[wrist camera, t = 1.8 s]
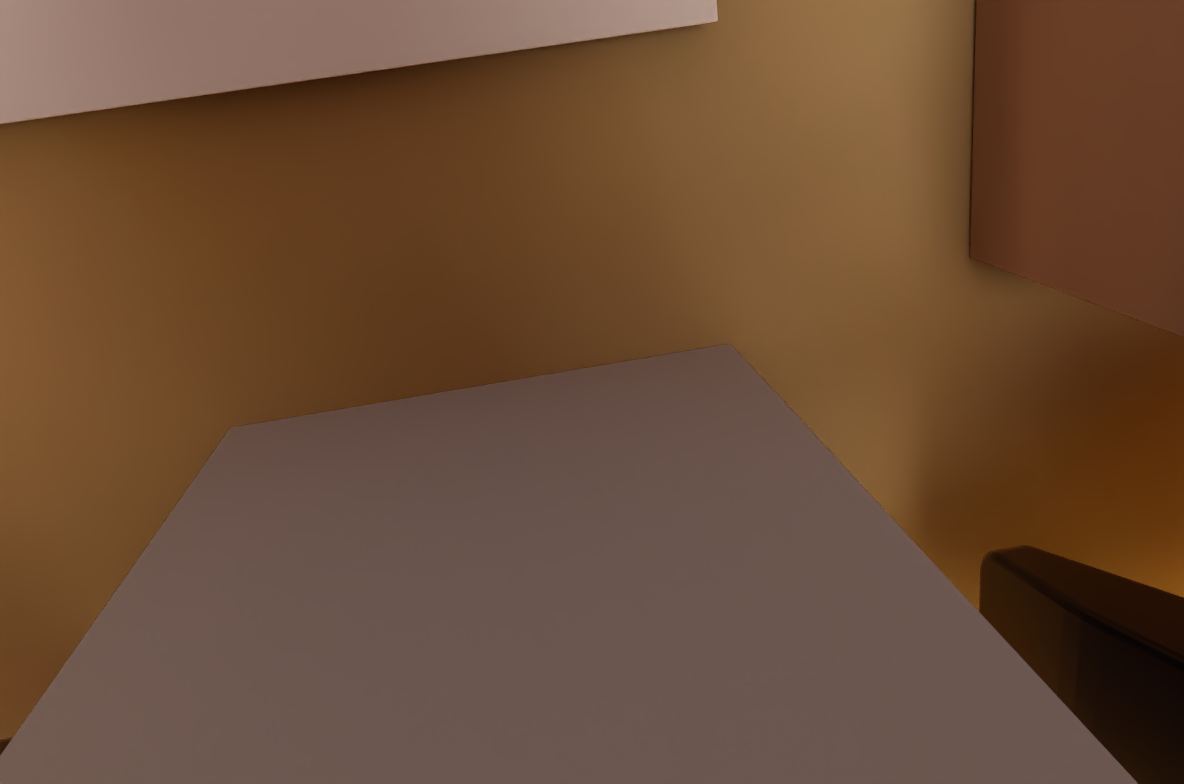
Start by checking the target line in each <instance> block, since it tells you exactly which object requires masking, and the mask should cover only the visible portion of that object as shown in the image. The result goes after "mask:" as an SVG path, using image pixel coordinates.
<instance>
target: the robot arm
mask: <svg viewBox="0 0 1184 784" xmlns="http://www.w3.org/2000/svg"><path fill="white" fill-rule="evenodd" d="M979 612H980V613H981V615H982V616H983V617H984V618H985V619H986V620H987V621H988V622H989V623H990V624H991V625H992V626H993V627H994V629H995V630H996V631H997V632H998V633H999V634H1000V635H1001V636H1002V637H1003V638H1004V639H1005V640H1006V641H1007V643H1008V644H1009V645H1010V646H1011V647H1012V648H1013V649H1014V650H1015V651H1016V652H1017V653H1018V654H1019V656H1020V657H1021V658H1022V659H1023V660H1024V661H1025V662H1026V663H1027V664H1028V665H1029V666H1030V667H1031V668H1032V670H1033V671H1034V672H1035V673H1036V674H1037V675H1038V676H1039V677H1040V678H1041V679H1042V680H1043V681H1044V683H1045V684H1046V685H1047V686H1048V687H1049V688H1050V689H1051V690H1052V691H1053V692H1054V693H1055V694H1056V695H1057V697H1058V698H1059V699H1060V700H1061V701H1062V702H1063V703H1064V704H1065V705H1066V706H1067V707H1068V708H1069V710H1070V711H1071V712H1072V713H1073V714H1074V715H1075V716H1076V717H1077V718H1078V719H1079V720H1080V721H1081V722H1082V724H1083V725H1084V726H1085V727H1086V728H1087V729H1088V730H1089V731H1090V732H1091V733H1092V734H1093V735H1094V736H1095V738H1096V739H1097V740H1098V741H1099V742H1100V743H1101V744H1102V745H1103V746H1104V747H1105V748H1106V749H1107V751H1108V752H1109V753H1110V754H1111V755H1112V756H1113V757H1114V758H1115V759H1116V760H1117V761H1118V762H1119V763H1120V765H1121V766H1122V767H1123V768H1124V769H1125V770H1126V771H1127V772H1128V773H1129V774H1130V775H1131V776H1132V778H1133V779H1134V780H1135V781H1136V782H1137V783H1138V784H1184V598H1183V597H1180V596H1177V595H1174V594H1172V593H1169V592H1166V591H1163V590H1160V589H1157V588H1154V587H1151V586H1148V585H1145V584H1142V583H1139V582H1136V581H1133V580H1130V579H1127V578H1124V577H1121V576H1118V575H1115V574H1112V573H1109V572H1106V571H1103V570H1100V569H1097V568H1094V567H1091V566H1088V565H1085V564H1082V563H1079V562H1076V561H1073V560H1070V559H1067V558H1064V557H1061V556H1058V555H1055V554H1052V553H1049V552H1046V551H1043V550H1040V549H1037V548H1034V547H1031V546H1016V547H1011V548H1006V549H1001V550H995V551H991V552H989V553H987V554H986V555H985V556H984V557H983V560H982V562H981V568H980V597H979ZM12 738H13V737H11V738H6V739H1V740H0V755H1V754H2V752H3V751H4V750H5V748H6V747H7V745H8V744H9V743H10V741H11V740H12Z"/></svg>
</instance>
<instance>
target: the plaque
mask: <svg viewBox="0 0 1184 784" xmlns="http://www.w3.org/2000/svg"><path fill="white" fill-rule="evenodd" d="M716 21H718V14H717V0H0V124H6V123H13V122H20V121H27V120H34V119H41V118H48V117H55V116H62V115H69V114H76V113H83V112H90V111H97V110H104V109H111V108H118V107H125V106H132V105H139V104H146V103H153V102H160V101H167V100H174V99H181V98H188V97H195V96H202V95H209V94H216V93H223V92H230V91H237V90H244V89H251V88H258V87H265V86H272V85H280V84H287V83H294V82H301V81H308V80H315V79H322V78H329V77H336V76H343V75H350V74H357V73H364V72H371V71H378V70H385V69H392V68H399V67H406V66H413V65H420V64H427V63H434V62H441V61H448V60H455V59H462V58H469V57H476V56H483V55H490V54H497V53H504V52H511V51H518V50H525V49H532V48H539V47H546V46H553V45H560V44H567V43H574V42H581V41H588V40H595V39H602V38H609V37H616V36H623V35H630V34H637V33H644V32H651V31H658V30H666V29H673V28H680V27H687V26H694V25H701V24H707V23H712V22H716Z"/></svg>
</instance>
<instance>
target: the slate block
mask: <svg viewBox="0 0 1184 784" xmlns="http://www.w3.org/2000/svg"><path fill="white" fill-rule="evenodd" d="M0 784H1138V783H1137V782H1136V781H1135V780H1134V779H1133V778H1132V776H1131V775H1130V774H1129V773H1128V772H1127V771H1126V770H1125V769H1124V768H1123V767H1122V766H1121V765H1120V763H1119V762H1118V761H1117V760H1116V759H1115V758H1114V757H1113V756H1112V755H1111V754H1110V753H1109V752H1108V751H1107V749H1106V748H1105V747H1104V746H1103V745H1102V744H1101V743H1100V742H1099V741H1098V740H1097V739H1096V738H1095V736H1094V735H1093V734H1092V733H1091V732H1090V731H1089V730H1088V729H1087V728H1086V727H1085V726H1084V725H1083V724H1082V722H1081V721H1080V720H1079V719H1078V718H1077V717H1076V716H1075V715H1074V714H1073V713H1072V712H1071V711H1070V710H1069V708H1068V707H1067V706H1066V705H1065V704H1064V703H1063V702H1062V701H1061V700H1060V699H1059V698H1058V697H1057V695H1056V694H1055V693H1054V692H1053V691H1052V690H1051V689H1050V688H1049V687H1048V686H1047V685H1046V684H1045V683H1044V681H1043V680H1042V679H1041V678H1040V677H1039V676H1038V675H1037V674H1036V673H1035V672H1034V671H1033V670H1032V668H1031V667H1030V666H1029V665H1028V664H1027V663H1026V662H1025V661H1024V660H1023V659H1022V658H1021V657H1020V656H1019V654H1018V653H1017V652H1016V651H1015V650H1014V649H1013V648H1012V647H1011V646H1010V645H1009V644H1008V643H1007V641H1006V640H1005V639H1004V638H1003V637H1002V636H1001V635H1000V634H999V633H998V632H997V631H996V630H995V629H994V627H993V626H992V625H991V624H990V623H989V622H988V621H987V620H986V619H985V618H984V617H983V616H982V615H981V613H980V612H979V611H978V610H977V609H976V608H975V607H974V606H973V605H972V604H971V603H970V602H969V600H968V599H967V598H966V597H965V596H964V595H963V594H962V593H961V592H960V591H959V590H958V589H957V588H956V586H955V585H954V584H953V583H952V582H951V581H950V580H949V579H948V578H947V577H946V576H945V575H944V573H943V572H942V571H941V570H940V569H939V568H938V567H937V566H936V565H935V564H934V563H933V562H932V561H931V559H930V558H929V557H928V556H927V555H926V554H925V553H924V552H923V551H922V550H921V549H920V548H919V547H918V545H917V544H916V543H915V542H914V541H913V540H912V539H911V538H910V537H909V536H908V535H907V534H906V532H905V531H904V530H903V529H902V528H901V527H900V526H899V525H898V524H897V523H896V522H895V521H894V520H893V518H892V517H891V516H890V515H889V514H888V513H887V512H886V511H885V510H884V509H883V508H882V507H881V505H880V504H879V503H878V502H877V501H876V500H875V499H874V498H873V497H872V496H871V495H870V494H869V493H868V491H867V490H866V489H865V488H864V487H863V486H862V485H861V484H860V483H859V482H858V481H857V480H856V478H855V477H854V476H853V475H852V474H851V473H850V472H849V471H848V470H847V469H846V468H845V467H844V466H843V464H842V463H841V462H840V461H839V460H838V459H837V458H836V457H835V456H834V455H833V454H832V453H831V452H830V450H829V449H828V448H827V447H826V446H825V445H824V444H823V443H822V442H821V441H820V440H819V439H818V437H817V436H816V435H815V434H814V433H813V432H812V431H811V430H810V429H809V428H808V427H807V426H806V425H805V423H804V422H803V421H802V420H801V419H800V418H799V417H798V416H797V415H796V414H795V413H794V412H793V410H792V409H791V408H790V407H789V406H788V405H787V404H786V403H785V402H784V401H783V400H782V399H781V398H780V396H779V395H778V394H777V393H776V392H775V391H774V390H773V389H772V388H771V387H770V386H769V385H768V383H767V382H766V381H765V380H764V379H763V378H762V377H761V376H760V375H759V374H758V373H757V372H756V371H755V369H754V368H753V367H752V366H751V365H750V364H749V363H748V362H747V361H746V360H745V359H744V358H743V357H742V355H741V354H740V353H739V352H738V351H737V350H736V349H735V348H734V347H733V346H732V345H731V344H724V345H718V346H713V347H707V348H701V349H695V350H689V351H683V352H677V353H671V354H665V355H659V356H653V357H647V358H641V359H635V360H629V361H623V362H618V363H612V364H606V365H600V366H594V367H588V368H582V369H576V370H570V371H564V372H558V373H552V374H546V375H540V376H534V377H528V378H522V379H517V380H511V381H505V382H499V383H493V384H487V385H481V386H475V387H469V388H463V389H457V390H451V391H445V392H439V393H433V394H427V395H421V396H416V397H410V398H404V399H398V400H392V401H386V402H380V403H374V404H368V405H362V406H356V407H350V408H344V409H338V410H332V411H326V412H320V413H315V414H309V415H303V416H297V417H291V418H285V419H279V420H273V421H267V422H261V423H255V424H249V425H243V426H237V427H231V428H230V429H229V430H228V432H227V433H226V434H225V436H224V437H223V439H222V440H221V442H220V443H219V444H218V446H217V447H216V449H215V450H214V452H213V453H212V454H211V456H210V457H209V459H208V460H207V461H206V463H205V464H204V466H203V467H202V469H201V470H200V471H199V473H198V474H197V476H196V477H195V479H194V480H193V481H192V483H191V484H190V486H189V487H188V489H187V490H186V491H185V493H184V494H183V496H182V497H181V499H180V500H179V501H178V503H177V504H176V506H175V507H174V509H173V510H172V511H171V513H170V514H169V516H168V517H167V519H166V520H165V521H164V523H163V524H162V526H161V527H160V529H159V530H158V531H157V533H156V534H155V536H154V537H153V539H152V540H151V541H150V543H149V544H148V546H147V547H146V549H145V550H144V551H143V553H142V554H141V556H140V557H139V558H138V560H137V561H136V563H135V564H134V566H133V567H132V568H131V570H130V571H129V573H128V574H127V576H126V577H125V578H124V580H123V581H122V583H121V584H120V586H119V587H118V588H117V590H116V591H115V593H114V594H113V596H112V597H111V598H110V600H109V601H108V603H107V604H106V606H105V607H104V608H103V610H102V611H101V613H100V614H99V616H98V617H97V618H96V620H95V621H94V623H93V624H92V626H91V627H90V628H89V630H88V631H87V633H86V634H85V636H84V637H83V638H82V640H81V641H80V643H79V644H78V646H77V647H76V648H75V650H74V651H73V653H72V654H71V655H70V657H69V658H68V660H67V661H66V663H65V664H64V665H63V667H62V668H61V670H60V671H59V673H58V674H57V675H56V677H55V678H54V680H53V681H52V683H51V684H50V685H49V687H48V688H47V690H46V691H45V693H44V694H43V695H42V697H41V698H40V700H39V701H38V703H37V704H36V705H35V707H34V708H33V710H32V711H31V713H30V714H29V715H28V717H27V718H26V720H25V721H24V723H23V724H22V725H21V727H20V728H19V730H18V731H17V733H16V734H15V735H14V737H13V738H12V740H11V741H10V743H9V744H8V745H7V747H6V748H5V750H4V751H3V752H2V754H1V755H0Z"/></svg>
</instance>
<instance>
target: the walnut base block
mask: <svg viewBox="0 0 1184 784" xmlns="http://www.w3.org/2000/svg"><path fill="white" fill-rule="evenodd" d="M970 257H971V258H974V259H976V260H979V261H982V262H984V263H987V264H990V265H992V266H995V267H998V268H1000V269H1003V270H1006V271H1008V272H1011V273H1014V274H1016V275H1019V276H1022V277H1024V278H1027V279H1030V280H1032V281H1035V282H1038V283H1040V284H1043V285H1046V286H1048V287H1051V288H1054V289H1057V290H1059V291H1062V292H1065V293H1067V294H1070V295H1073V296H1075V297H1078V298H1081V299H1083V300H1086V301H1089V302H1091V303H1094V304H1097V305H1099V306H1102V307H1105V308H1107V309H1110V310H1113V311H1115V312H1118V313H1121V314H1123V315H1126V316H1129V317H1131V318H1134V319H1137V320H1139V321H1142V322H1145V323H1147V324H1150V325H1153V326H1155V327H1158V328H1161V329H1163V330H1166V331H1169V332H1171V333H1174V334H1177V335H1179V336H1182V337H1184V0H977V3H976V43H975V84H974V124H973V164H972V204H971V245H970Z"/></svg>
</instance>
